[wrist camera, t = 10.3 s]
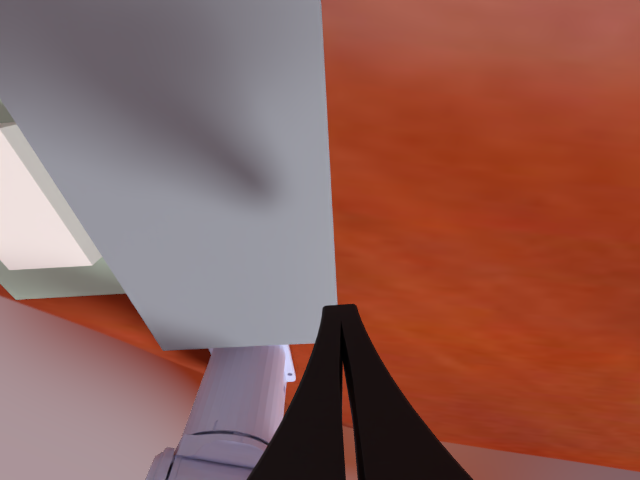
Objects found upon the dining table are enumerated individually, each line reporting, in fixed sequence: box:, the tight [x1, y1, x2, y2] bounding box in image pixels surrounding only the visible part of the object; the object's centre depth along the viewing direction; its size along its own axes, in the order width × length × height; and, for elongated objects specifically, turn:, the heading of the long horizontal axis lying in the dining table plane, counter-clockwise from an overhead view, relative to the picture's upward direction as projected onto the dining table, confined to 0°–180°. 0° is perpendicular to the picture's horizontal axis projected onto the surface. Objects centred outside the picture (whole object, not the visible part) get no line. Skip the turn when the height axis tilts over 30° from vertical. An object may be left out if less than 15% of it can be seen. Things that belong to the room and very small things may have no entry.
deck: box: [0, 0, 337, 351], centre depth 17 cm, size 24×14×4 cm, turn 4°
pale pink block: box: [0, 122, 102, 270], centre depth 17 cm, size 9×6×2 cm, turn 4°
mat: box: [0, 99, 125, 300], centre depth 18 cm, size 20×13×1 cm, turn 4°
